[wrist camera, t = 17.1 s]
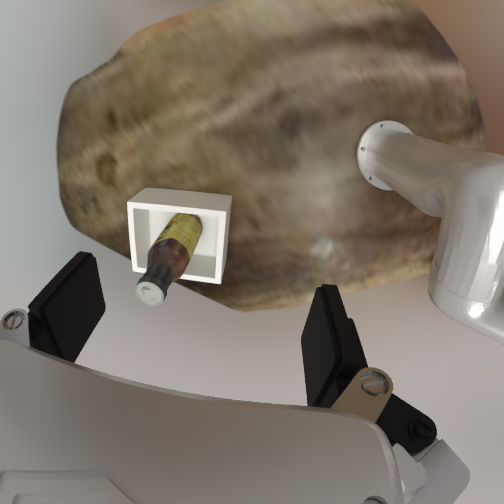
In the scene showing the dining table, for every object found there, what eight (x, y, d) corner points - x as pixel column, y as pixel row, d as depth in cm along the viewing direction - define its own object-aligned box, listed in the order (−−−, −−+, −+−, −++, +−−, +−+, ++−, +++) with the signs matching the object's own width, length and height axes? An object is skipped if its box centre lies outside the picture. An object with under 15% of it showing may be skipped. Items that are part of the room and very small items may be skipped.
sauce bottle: (176, 204, 49) (130, 261, 31) (208, 217, 50) (178, 281, 32) (166, 235, 52) (123, 300, 34) (197, 247, 53) (167, 318, 35)
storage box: (232, 195, 49) (226, 211, 42) (226, 260, 55) (220, 283, 48) (145, 187, 48) (127, 201, 41) (148, 249, 54) (133, 271, 47)
